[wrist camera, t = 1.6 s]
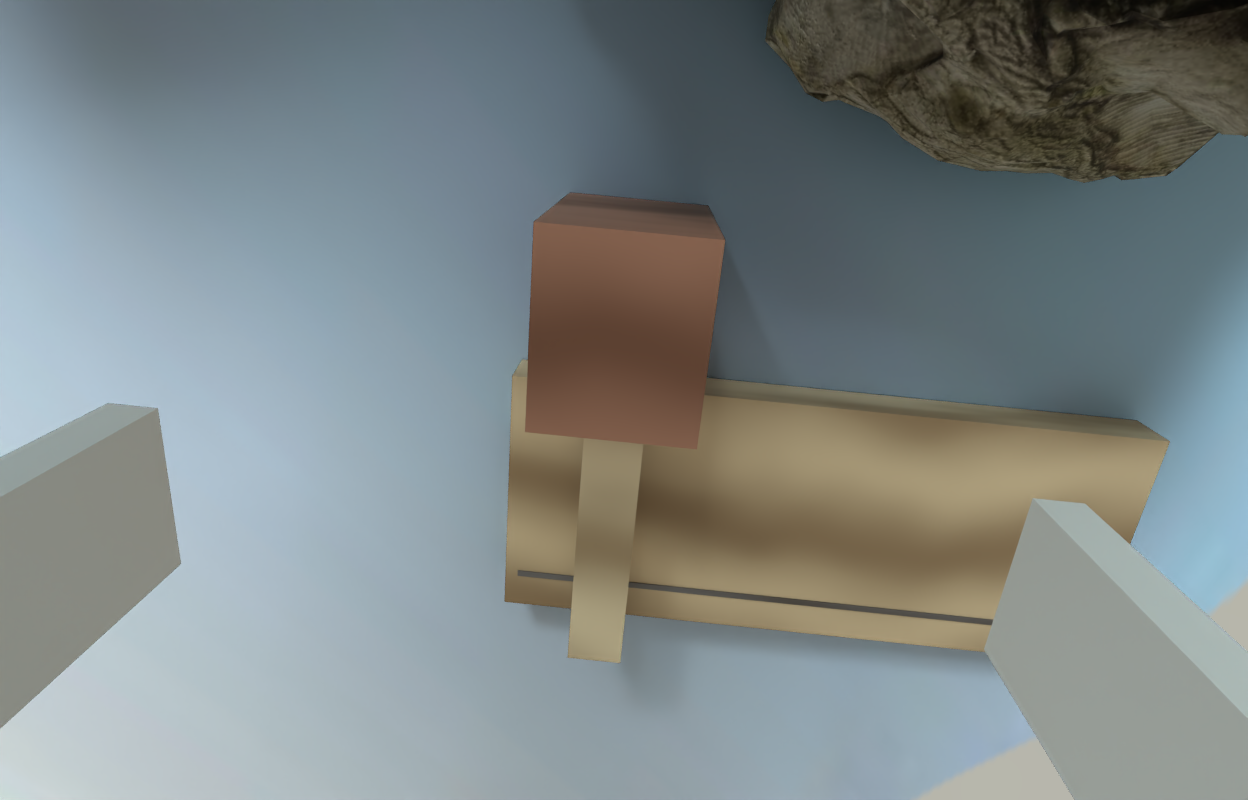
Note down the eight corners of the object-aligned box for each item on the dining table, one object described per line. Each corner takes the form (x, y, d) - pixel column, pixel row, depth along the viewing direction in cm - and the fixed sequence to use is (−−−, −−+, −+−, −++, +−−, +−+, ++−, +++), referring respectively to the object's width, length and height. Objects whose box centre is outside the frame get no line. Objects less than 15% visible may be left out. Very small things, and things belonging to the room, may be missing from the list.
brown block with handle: (570, 192, 27) (533, 221, 19) (708, 205, 27) (725, 239, 19) (547, 576, 33) (513, 713, 25) (660, 588, 33) (659, 728, 25)
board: (522, 359, 29) (511, 376, 27) (1136, 420, 29) (1171, 442, 27) (513, 573, 33) (504, 602, 31) (1059, 630, 32) (1084, 663, 30)
